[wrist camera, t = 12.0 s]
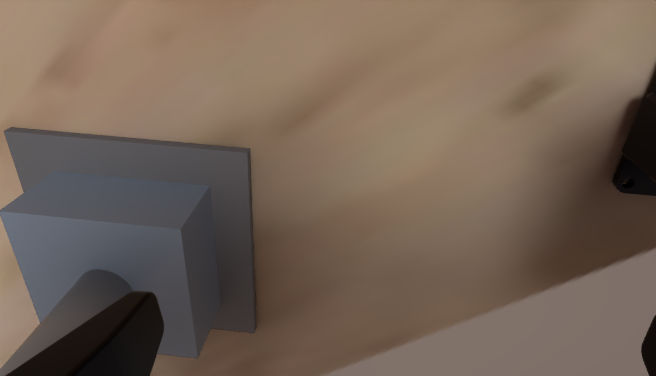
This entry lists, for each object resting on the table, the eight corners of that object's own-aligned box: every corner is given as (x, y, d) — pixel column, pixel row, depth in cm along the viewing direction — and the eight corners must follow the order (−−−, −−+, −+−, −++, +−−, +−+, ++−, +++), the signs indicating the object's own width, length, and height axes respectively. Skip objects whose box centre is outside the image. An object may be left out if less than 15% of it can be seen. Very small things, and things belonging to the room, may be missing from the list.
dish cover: (209, 185, 22) (81, 376, 12) (220, 304, 26) (129, 519, 16) (54, 171, 22) (-186, 344, 13) (88, 290, 26) (-77, 491, 17)
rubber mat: (249, 148, 21) (247, 152, 21) (256, 326, 27) (254, 333, 27) (11, 127, 22) (3, 131, 21) (68, 305, 28) (63, 311, 27)
